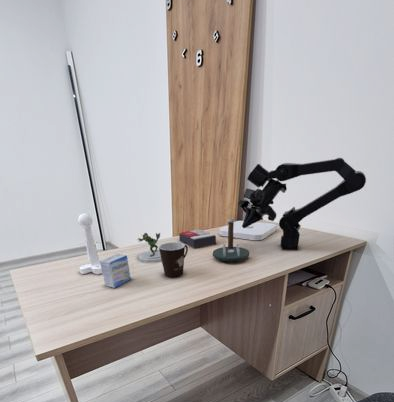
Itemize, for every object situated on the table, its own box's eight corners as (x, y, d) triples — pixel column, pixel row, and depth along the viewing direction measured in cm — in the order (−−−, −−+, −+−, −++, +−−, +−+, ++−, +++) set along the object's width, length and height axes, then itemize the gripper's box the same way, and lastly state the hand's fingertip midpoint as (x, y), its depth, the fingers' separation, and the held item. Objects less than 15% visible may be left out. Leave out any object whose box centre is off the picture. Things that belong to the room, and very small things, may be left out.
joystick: (108, 264, 114) (98, 210, 104) (115, 270, 109) (105, 213, 99) (79, 271, 109) (65, 215, 99) (85, 278, 104) (70, 219, 93)
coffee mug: (167, 281, 99) (164, 252, 94) (158, 272, 106) (155, 245, 101) (198, 274, 103) (197, 245, 98) (187, 266, 110) (186, 239, 105)
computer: (260, 241, 133) (260, 235, 132) (217, 235, 144) (217, 230, 142) (277, 229, 149) (278, 224, 147) (237, 225, 159) (237, 220, 158)
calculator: (199, 228, 142) (216, 233, 130) (200, 237, 144) (216, 243, 132) (178, 232, 137) (193, 238, 126) (179, 241, 140) (194, 248, 128)
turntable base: (244, 254, 119) (244, 251, 119) (243, 263, 111) (243, 260, 110) (219, 253, 121) (219, 250, 120) (216, 262, 113) (216, 259, 112)
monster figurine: (132, 257, 120) (128, 232, 115) (155, 250, 128) (153, 225, 122) (151, 264, 113) (148, 237, 108) (174, 256, 120) (172, 230, 115)
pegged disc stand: (251, 260, 109) (253, 227, 103) (212, 261, 110) (212, 228, 103) (247, 248, 121) (249, 218, 115) (212, 249, 122) (212, 218, 115)
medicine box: (114, 288, 95) (109, 262, 91) (104, 286, 98) (99, 260, 93) (131, 279, 101) (127, 255, 97) (121, 277, 103) (117, 253, 99)
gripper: (242, 177, 119) (218, 210, 120) (273, 182, 104) (245, 218, 106) (257, 196, 126) (234, 227, 127) (288, 203, 111) (261, 237, 113)
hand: (243, 227), depth 118 cm, fingers closed
